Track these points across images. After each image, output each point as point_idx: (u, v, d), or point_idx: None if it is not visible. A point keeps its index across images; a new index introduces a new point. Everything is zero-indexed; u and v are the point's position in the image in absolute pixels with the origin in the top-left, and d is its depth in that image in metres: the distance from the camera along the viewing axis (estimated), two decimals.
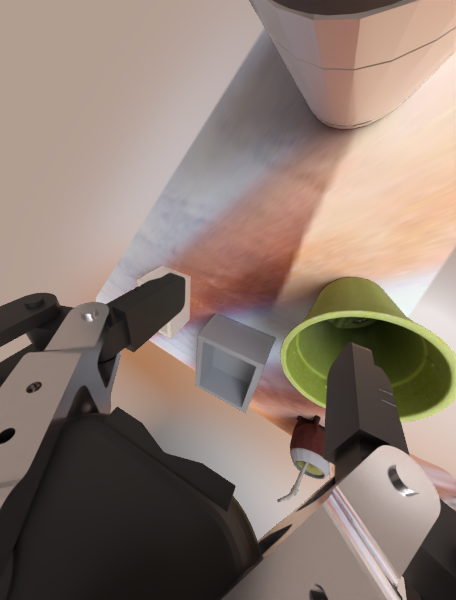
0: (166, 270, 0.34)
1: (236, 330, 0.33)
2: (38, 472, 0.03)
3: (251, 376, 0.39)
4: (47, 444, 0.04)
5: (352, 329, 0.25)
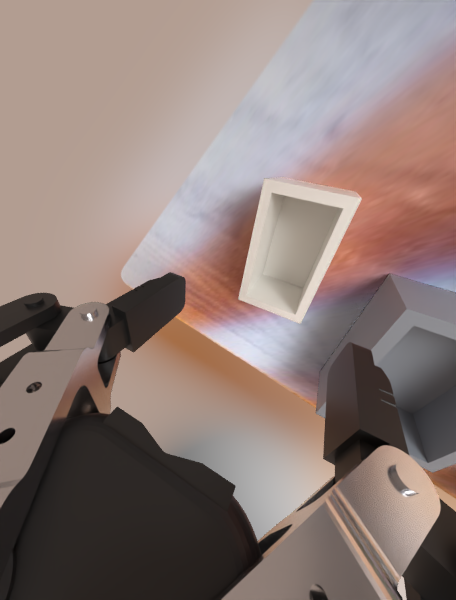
0: (300, 181, 0.16)
1: None
2: (39, 471, 0.03)
3: (426, 399, 0.21)
4: (47, 444, 0.04)
5: None
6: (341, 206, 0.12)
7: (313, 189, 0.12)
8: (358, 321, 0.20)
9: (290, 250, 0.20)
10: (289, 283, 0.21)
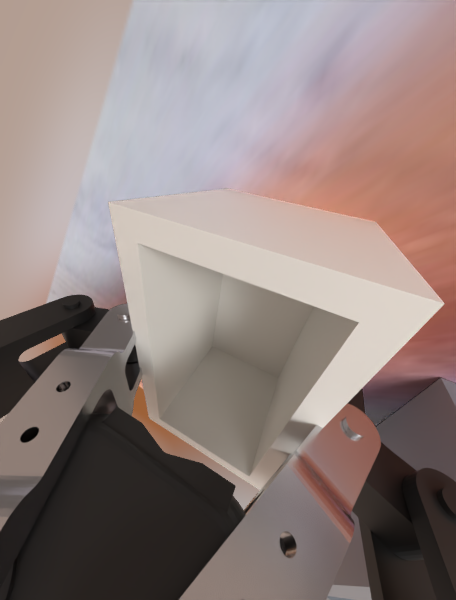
0: (256, 198, 0.08)
1: None
2: (52, 479, 0.03)
3: None
4: (64, 451, 0.04)
5: None
6: (351, 314, 0.03)
7: (249, 246, 0.03)
8: None
9: (250, 319, 0.11)
10: (254, 368, 0.12)
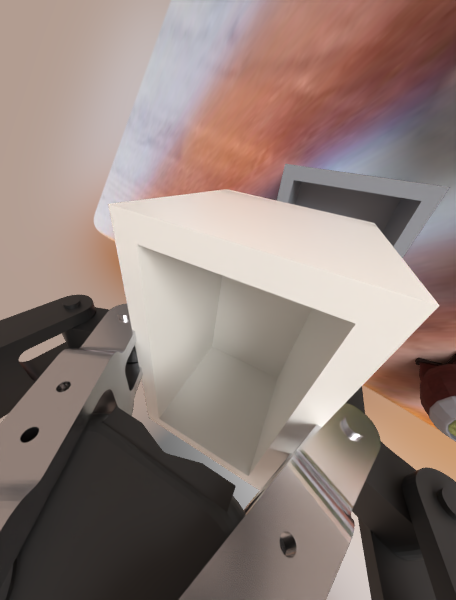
0: (256, 199, 0.08)
1: None
2: (51, 479, 0.03)
3: None
4: (64, 451, 0.04)
5: None
6: (348, 316, 0.03)
7: (247, 248, 0.03)
8: None
9: (250, 319, 0.11)
10: (254, 368, 0.13)
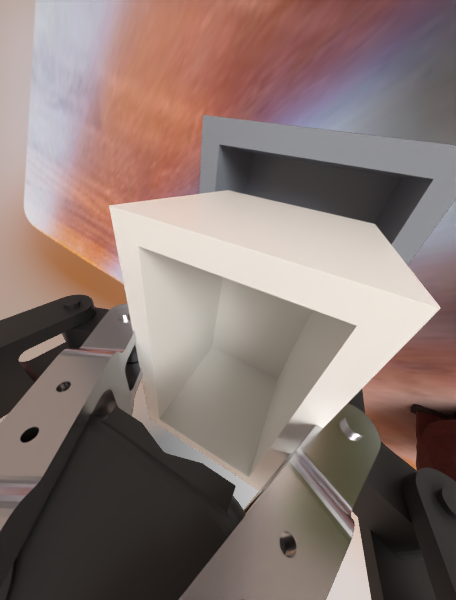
0: (256, 200, 0.08)
1: None
2: (51, 479, 0.03)
3: None
4: (64, 451, 0.04)
5: None
6: (349, 318, 0.03)
7: (248, 251, 0.03)
8: None
9: (250, 320, 0.11)
10: (254, 368, 0.13)
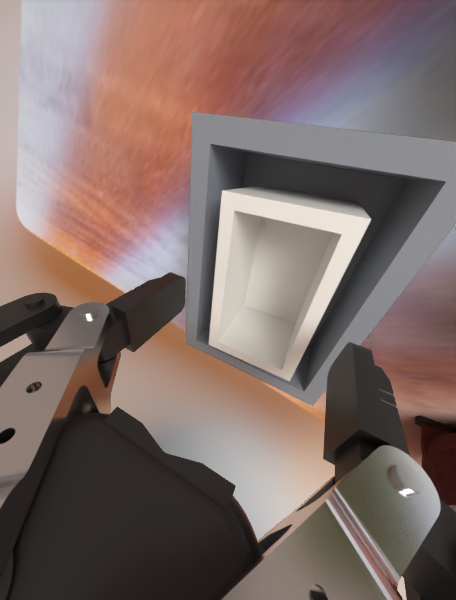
0: (283, 190, 0.12)
1: None
2: (39, 471, 0.03)
3: None
4: (47, 444, 0.04)
5: None
6: (338, 231, 0.08)
7: (294, 205, 0.08)
8: None
9: (275, 277, 0.15)
10: (277, 317, 0.17)
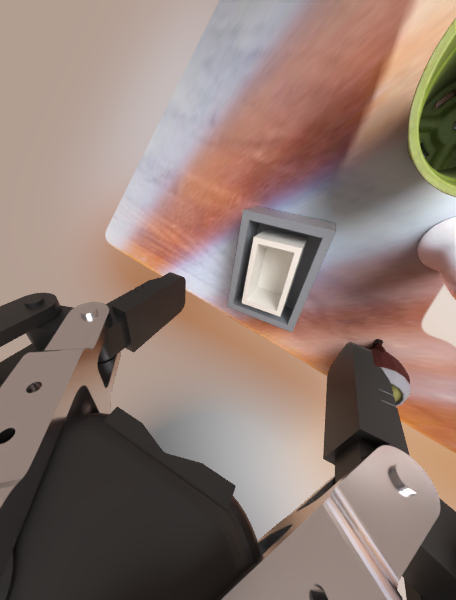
0: (276, 232, 0.28)
1: (287, 214, 0.27)
2: (38, 472, 0.03)
3: (296, 293, 0.32)
4: (47, 444, 0.04)
5: None
6: (293, 251, 0.24)
7: (279, 243, 0.24)
8: None
9: (273, 271, 0.31)
10: (274, 292, 0.33)
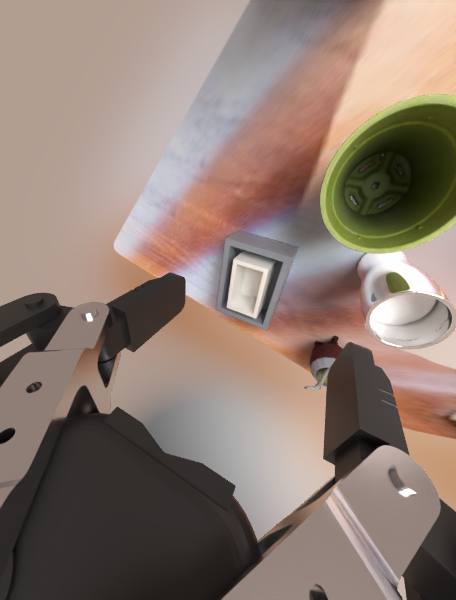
0: None
1: (260, 239, 0.34)
2: (38, 472, 0.03)
3: (271, 299, 0.40)
4: (46, 444, 0.04)
5: (377, 214, 0.27)
6: (262, 271, 0.31)
7: (252, 264, 0.32)
8: None
9: (252, 281, 0.39)
10: (254, 298, 0.41)
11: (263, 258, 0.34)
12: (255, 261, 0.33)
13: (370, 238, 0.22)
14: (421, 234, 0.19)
